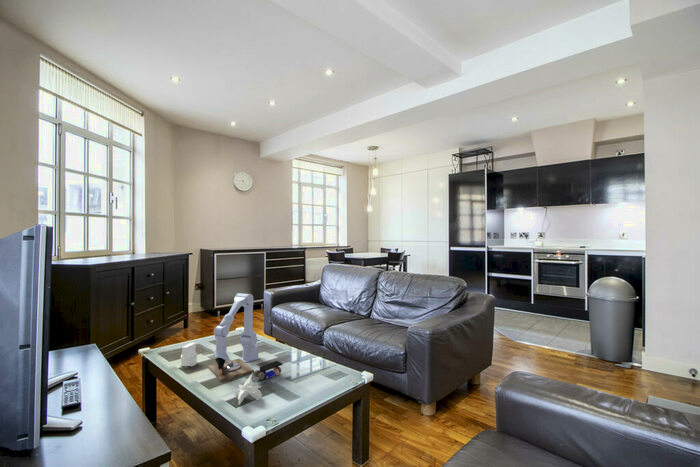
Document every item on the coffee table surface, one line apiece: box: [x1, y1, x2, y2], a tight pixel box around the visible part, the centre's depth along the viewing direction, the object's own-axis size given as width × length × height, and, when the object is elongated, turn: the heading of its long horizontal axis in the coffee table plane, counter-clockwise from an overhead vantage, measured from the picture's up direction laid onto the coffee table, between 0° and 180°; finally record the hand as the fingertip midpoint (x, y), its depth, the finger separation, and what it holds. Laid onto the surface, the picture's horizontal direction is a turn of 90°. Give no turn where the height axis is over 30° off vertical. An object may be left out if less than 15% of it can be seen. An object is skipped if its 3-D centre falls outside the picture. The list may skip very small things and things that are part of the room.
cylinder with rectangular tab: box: [180, 342, 198, 367], centre depth 203 cm, size 9×9×12 cm
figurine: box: [234, 372, 263, 406], centre depth 159 cm, size 14×11×13 cm
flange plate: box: [220, 362, 240, 375], centre depth 192 cm, size 16×11×3 cm
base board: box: [207, 358, 255, 382], centre depth 194 cm, size 19×23×5 cm
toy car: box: [253, 360, 284, 383], centre depth 183 cm, size 7×8×15 cm
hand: (221, 370), depth 187 cm, fingers closed, pressing on flange plate
